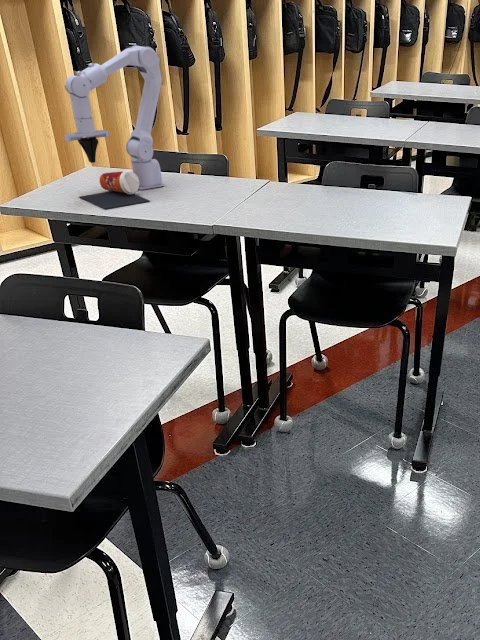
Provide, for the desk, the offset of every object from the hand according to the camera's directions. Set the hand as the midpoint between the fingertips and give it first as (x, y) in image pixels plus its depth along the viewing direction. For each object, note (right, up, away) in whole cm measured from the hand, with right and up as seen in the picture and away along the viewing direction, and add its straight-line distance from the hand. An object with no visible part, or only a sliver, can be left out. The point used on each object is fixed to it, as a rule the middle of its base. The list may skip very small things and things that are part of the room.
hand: (92, 162), depth 224 cm
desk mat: (+8, -13, 0) cm, 15 cm away
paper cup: (+2, -3, +8) cm, 9 cm away
